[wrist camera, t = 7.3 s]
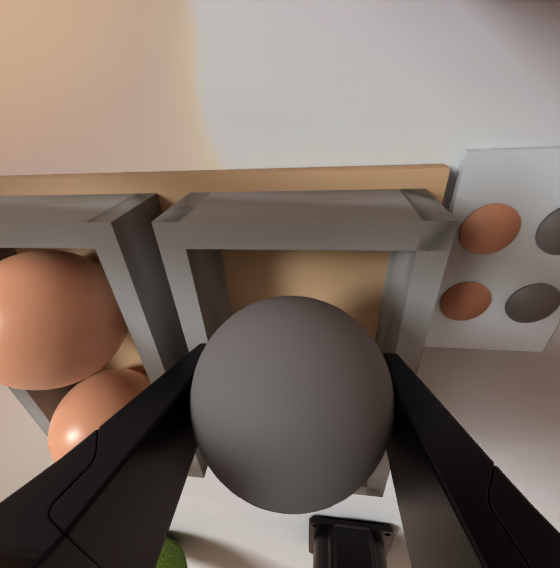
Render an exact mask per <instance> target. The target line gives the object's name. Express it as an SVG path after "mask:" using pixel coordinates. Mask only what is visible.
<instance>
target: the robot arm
mask: <svg viewBox="0 0 560 568" xmlns="http://www.w3.org/2000/svg"><path fill="white" fill-rule="evenodd" d="M206 344H207V343H200V344H199V345H197V346H196V347H195V348H194V349H192V350H191V351H190V352H189V353H188V354H186V355H185V356H184V357H183V358H182V359H180V360H179V361H178V362H177V363H176V364H174V365H173V366H172V367H171V368H170V369H168V370H167V371H166V372H165V373H164V374H162V375H161V376H160V377H159V378H158V379H156V380H155V381H154V382H153V383H152V384H150V385H149V386H148V387H147V388H146V389H144V390H143V391H142V392H141V393H140V394H138V395H137V396H136V397H135V398H133V399H132V400H131V401H130V402H129V403H127V404H126V405H125V406H124V407H123V408H121V409H120V410H119V411H118V412H117V413H115V414H114V415H113V416H112V417H111V418H109V419H108V420H107V421H106V422H105V423H103V424H102V425H101V426H100V427H99V430H98V429H96V430H95V431H94V432H92V433H91V434H90V435H89V436H88V437H86V438H85V439H84V440H83V441H82V442H80V443H79V444H78V445H77V446H75V447H74V448H73V449H72V450H70V451H69V452H68V453H67V454H65V455H64V456H63V457H62V458H60V459H59V460H58V461H56V462H55V463H54V464H52V465H51V466H50V467H48V468H47V469H46V470H44V471H43V472H42V473H40V474H39V475H38V476H36V477H35V478H33V479H32V480H31V481H29V482H28V483H27V484H25V485H24V486H22V487H21V488H20V489H18V490H17V491H16V492H14V493H13V494H11V495H10V496H9V497H7V498H6V499H5V500H3V501H2V502H0V568H156V565H157V562H158V559H159V556H160V553H161V550H162V548H163V545H164V542H165V539H166V536H167V533H168V530H169V527H170V525H171V522H172V519H173V516H174V513H175V510H176V507H177V504H178V501H179V499H180V496H181V493H182V490H183V487H184V484H185V481H186V478H187V476H188V473H189V470H190V467H191V464H192V461H193V458H194V455H195V453H196V450H197V447H198V444H197V442H196V438H195V435H194V431H193V427H192V421H191V413H190V393H191V386H192V381H193V376H194V371H195V369H196V366H197V363H198V360H199V358H200V356H201V353H202V351H203V350H204V348H205V346H206ZM382 355H383V357H384V359H385V361H386V363H387V366H388V369H389V372H390V376H391V379H392V385H393V391H394V409H395V414H394V422H393V428H392V433H391V437H390V440H389V443H388V446H387V448H386V452H387V456H388V461H389V465H390V470H391V474H392V479H393V484H394V488H395V493H396V497H397V502H398V506H399V511H400V516H401V520H402V525H403V529H404V534H405V538H406V543H407V548H408V552H409V557H410V561H411V566H412V568H560V533H559V532H558V531H557V530H556V529H555V528H554V527H553V526H552V525H551V524H550V523H549V522H548V521H547V520H546V519H545V518H544V517H543V515H542V514H541V513H540V512H539V511H538V510H537V509H536V508H535V507H534V506H533V505H532V504H531V503H530V502H529V501H528V500H527V499H526V498H525V496H524V495H523V494H522V493H521V492H520V491H519V490H518V489H517V488H516V487H515V486H514V485H513V483H512V482H511V481H510V480H509V479H508V478H507V477H506V476H505V474H504V473H503V472H502V471H501V470H500V469H499V468H498V467H497V466H494V462H493V461H492V460H491V459H490V458H489V457H488V455H487V454H486V453H485V452H484V451H483V450H482V449H481V448H480V446H479V445H478V444H477V443H476V442H475V441H474V440H473V439H472V437H471V436H470V435H469V434H468V433H467V432H466V431H465V430H464V428H463V427H462V426H461V425H460V424H459V423H458V422H457V420H456V419H455V418H454V417H453V416H452V415H451V414H450V413H449V411H448V410H447V409H446V408H445V407H444V406H443V405H442V404H441V402H440V401H439V400H438V399H437V398H436V397H435V396H434V395H433V393H432V392H431V391H430V390H429V389H428V388H427V387H426V385H425V384H424V383H423V382H422V381H421V380H420V379H419V378H418V376H417V375H416V374H415V373H414V372H413V371H412V370H411V369H410V367H409V366H408V365H407V364H406V363H405V362H404V361H403V360H402V358H401V357H400V356H399V355H398V354H397V353H392V352H382ZM393 538H394V529H393V527H391V526H386V525H378V524H369V523H361V522H353V521H344V520H336V519H327V518H319V517H311V518H309V552H310V553H312V554H313V568H387V561H386V557H387V554H388V552H389V549H390V546H391V544H392V541H393Z"/></svg>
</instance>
